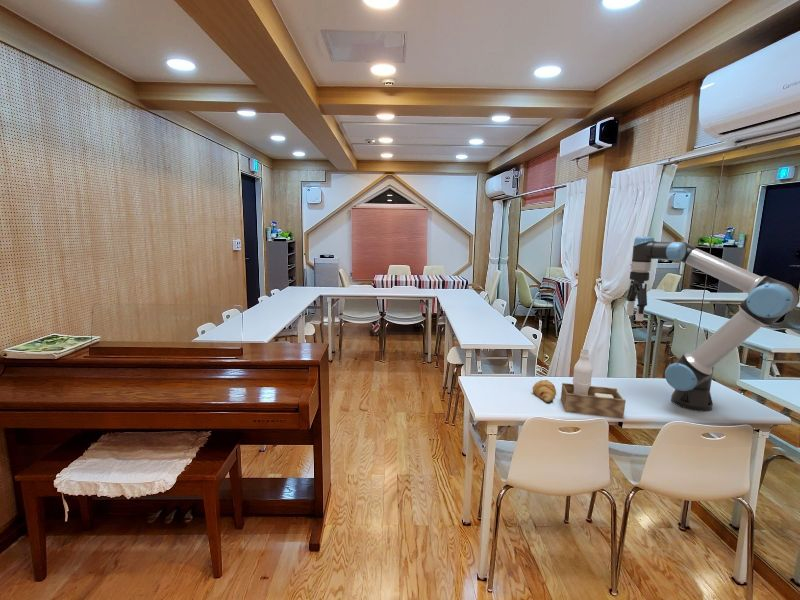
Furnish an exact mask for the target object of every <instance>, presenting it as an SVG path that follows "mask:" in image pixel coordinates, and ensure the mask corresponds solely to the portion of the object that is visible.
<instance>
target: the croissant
mask: <svg viewBox="0 0 800 600" xmlns="http://www.w3.org/2000/svg"><path fill="white" fill-rule="evenodd" d="M532 391H533V393H534V394H535V395H536V396H537V397H539V398H540V400H541V399H542V400H543V401H544V402H546V403H550V402H552V401H554V399H555V398H556V396H557V389H556V387H555V385H554V384H553V382H551V381H550V380H548V379H544V380H543V379H542V380H539V381H537V382H535V384H534V385H533V386H532Z"/></svg>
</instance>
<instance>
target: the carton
mask: <svg viewBox="0 0 800 600" xmlns="http://www.w3.org/2000/svg"><path fill="white" fill-rule="evenodd" d="M594 396H597V397H606V398H614V397H613V396H612V395H611V394H601V393H595V394H594Z"/></svg>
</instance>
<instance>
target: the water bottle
mask: <svg viewBox="0 0 800 600" xmlns="http://www.w3.org/2000/svg"><path fill="white" fill-rule="evenodd" d="M589 358H590V351H589V349H581V350H580V354H579V359H578V361H576V363H575V364H574V367H573V376H572V377H573V378H572V384H574V393H573V394H579V395H588V389H589V387H590V386H592V376H593V367H592V364H591V362H590V359H589Z"/></svg>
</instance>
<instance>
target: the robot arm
mask: <svg viewBox="0 0 800 600" xmlns="http://www.w3.org/2000/svg"><path fill="white" fill-rule="evenodd" d="M631 257H632V258H631V263H630V264H629V266H630V270H631V271H630V272H629V280H630V285H629V288H628V292H627V294H626V295H627V296H626V299H627V307H626V315H627V316H634V312H635V305H636V312H635V313H636V314H635V322H643V321H644V314H645V308H646V307H648V296H647V295H648V294H647V293H648V292H647V285H648V284H647V283H645V282H648V281H649V280H650V272H651V268H652V267H651V266H652V259H653V260H664V261H665V260H666V261H679V262H681V263H684V264H686V265H687V266H690V267H692V268H694V269H696V270H699V271H701V272H703V273H705V274H706V275H709V276H711V277H713V278H715V279H717V280H720V281H722V282H724V283H725V284H728V285H730V286H732V287H734V288H737V289H739V290H741V291H743V292H745V293H746V294H747V295H748V296H747V297H746V298H745V299H744V300H743V301H742V302H740V303H739V304H738V309H739V310H738V311H737V312H736V313H735V314H733V316H732V317H731V318H729V319H728V320H727V321H726V322H725V323H724V324H722V326H721V327H719V328H718V329H717V330H716V331H715V332H714V333H713V334H711V335H710V336H709V337H708V338H707V339H705V340H704V342H702V343H701V344H700V345H699V346H698V347H696V348H695V349H694V350H693V351H692V352H688V351H687V352H683V353H682V355H681V356H680V357H679V358H678V359H677V360H676V361H675V362H674V363H673V362H672V363H670V364H669V365H667V367H666V368H665V370H664V378H665V380H666V382H667V384H669V386H670V387H672V388H673V389H674V391H673V392H672V394H671V397H670V401H671V402H672V403H673V402H674V403H675V404H674V403H673V404H674V405H676V404H677V405H676V406H678V405H679V406H678V407H681V408H683V407H684V409H687V410H690V411H697V412H710V411H712V410H713V407H714V405H713V404H714V403H713V400H712V395H711V387H712V382H713V381H712V379H713V374H714V369H715V366H716V365H718V363H720V362H721V361H722V360H723V359H724V358H726V357H727V356H728V355H729V354H731V353H732V352H733V351H734V350H735V349H737V347H739V346H740V345H741V344H742V343H744V342H745V341H746V340H747V339H749V338H750V337H751V336H752V335H753V334H755V332H757V331H758V330H759V329H761V328H762V327H770V326H772V325H773V324H774V323H776V322H777V321H778V320H779V319H780V318H781V317H783V316H784V315H785V314H786V313H789V312H791V311H792V310H794V309H795V308H797V306H798V304H799V303H800V293H799V291H798V290H797V289H796V288H795V287H794V286H792V285H791V284H789V283H787V282H784V281H780V280H778V279H774V278H772V277H770V276H768V275H763V276H761V275H758V274H756V273H753V272H752V271H749V270H748V269H745V268H742V267H740V266H738V265H736V264H733V263H731V262H728V261H727V260H724V259H722V258H719V257H717V256H715V255H712V254H710V253H708V252H706V251H703V250H702V249H699V248H696V247H694V246H692V244H691V243H688V242H685V241H655V238H654V236H636V237H634V240H633V246H632V256H631ZM636 298H637V301H636ZM635 302H637V304H635Z"/></svg>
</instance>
